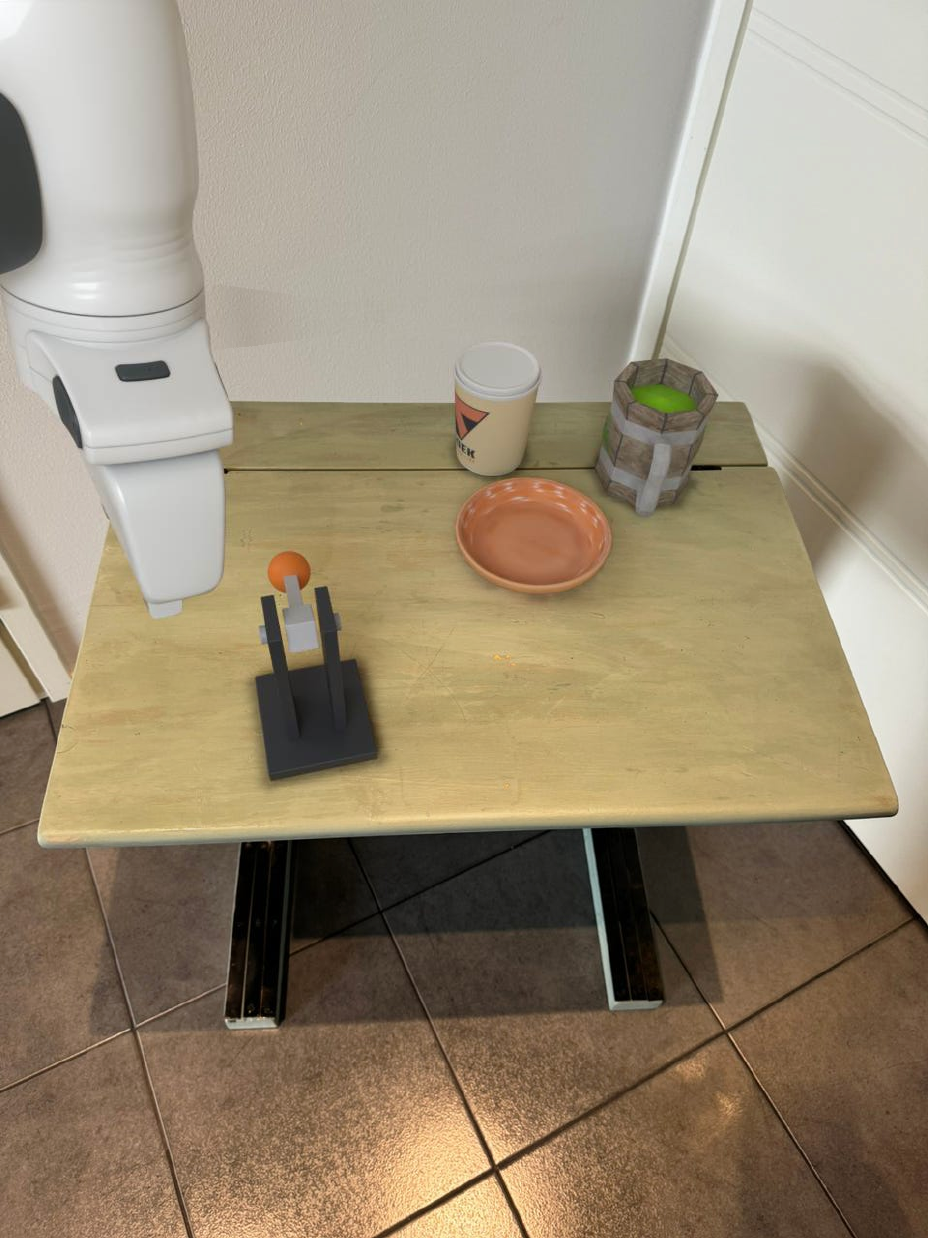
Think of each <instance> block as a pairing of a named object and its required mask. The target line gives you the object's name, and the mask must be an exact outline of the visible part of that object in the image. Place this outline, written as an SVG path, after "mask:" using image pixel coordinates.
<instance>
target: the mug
mask: <svg viewBox="0 0 928 1238" xmlns="http://www.w3.org/2000/svg"><path fill="white" fill-rule="evenodd" d="M612 390H613V391H612V399H611V403H610V406H609V407H610V408H609V411H608V415H607V418H606V419H605V422H604V426H603V431H602V441H601V447H600V450H599V454H598V458H597V461H596V462H595V466H594V468H593V470H594V472H595V474H596V476H597V478H598V480H599V482H600V484H601V486H602V488H603V490H604V492H605V494H606V495H609V496H611V497H613V498H615V499H618V500H620V501H622V502H624V503H627V504H630V505H631V506H634V507H635V512H636V514H637V516H639V517H642V518H650V517H651V516H652V515H653V514H654V512H655V510H656V508H657V507H659V506H667V505H673V504H675V503H676V502H677V500H678V499H679V498H680V496H681V494H682V493H683V491H684V490H685V488H686V487H687V486H688V484H689V481H690V475H691V470H692V467H693V464H694V461H695V458H696V456H697V454H698V452H699V449H700V447H701V445H702V444H703V440H704V436H705V432H706V428H707V424H708V421H709V418H710V415H711V412H712V409H713V407H714V406H715V404H716V402H717V401H718V398H719V393H718V392H717V390H716V389H715V388H714V386H713V385H712V383H711V381H710V380H709V379H708V377H707V376H706V374H705V373H704V372H703V371H702V370H699V369H696V368H693V367H692V366H688V365H686V364H682V363H681V362H678V361H676V360H672V359H670V358H667V357H666V358H656V359H644V360H636V361H635V360H634V361H630V362H629V363H628V364H627V365H626V366H625V367H624V369H623V370H622V371H621V372H620V374H618V375H617V376H616V378H615V379H614V380H613V389H612Z"/></svg>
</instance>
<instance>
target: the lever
mask: <svg viewBox="0 0 928 1238" xmlns="http://www.w3.org/2000/svg"><path fill="white" fill-rule="evenodd" d="M311 573H312V572H311V566H310V563H309V561H308V560H307V558H306V557H305V556H304V555H302V554H301V553H299V552H297V551H292V550H287V551H282V552H280V553H277V554H276V555H275V556H273V557H272V558H271V560H270V562H269V563H268V568H267V579H268V580H269V582H270V584H271V585H272V587H273V588H274V589H276V590H277V591H279V592H280V593H284V594H286V598H287V604H288V607H284V608H281V611H282V617H283V624H284V629H285V635H286V640H287V645H288V651H289V654H293V653H301V652H304V651H310V650H316V649H319V648H320V643H319V638H318V637H319V636H318V630H317V625H316V624H317V623H316V618H315V615H314V614H315V613H314V611H313V610H314V609H313V606H312V604H311V603H308V604H304V601H303V597H302V592H301V591H302V590H303V589H304V588H306V586H307V585H308V584H309V582H310V579H311Z"/></svg>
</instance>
